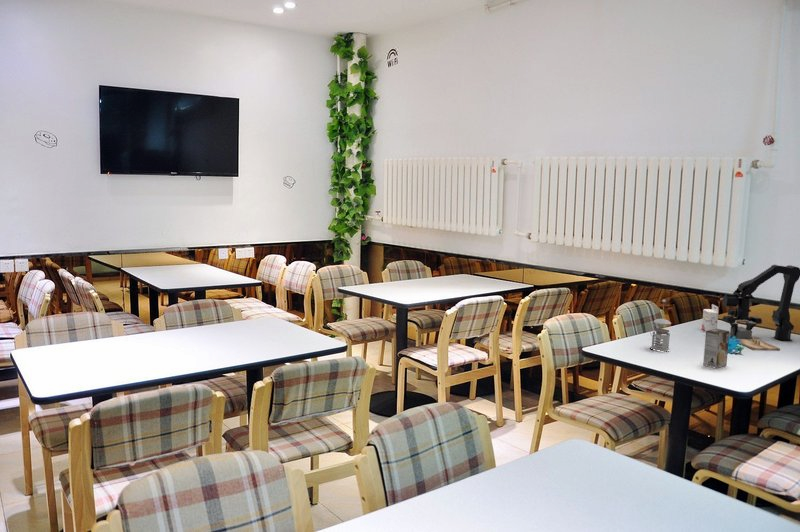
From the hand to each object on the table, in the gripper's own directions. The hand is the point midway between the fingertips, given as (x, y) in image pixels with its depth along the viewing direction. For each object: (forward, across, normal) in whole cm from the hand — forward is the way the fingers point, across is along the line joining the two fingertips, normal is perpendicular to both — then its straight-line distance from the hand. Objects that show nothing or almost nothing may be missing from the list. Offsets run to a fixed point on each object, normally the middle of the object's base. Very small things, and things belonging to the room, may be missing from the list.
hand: (740, 335), depth 350 cm
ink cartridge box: (+2, +10, -14) cm, 17 cm away
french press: (+2, +56, +26) cm, 62 cm away
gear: (+2, +22, +30) cm, 37 cm away
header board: (+1, +1, +16) cm, 16 cm away
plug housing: (+1, 0, 0) cm, 1 cm away
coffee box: (+2, +42, +53) cm, 68 cm away
